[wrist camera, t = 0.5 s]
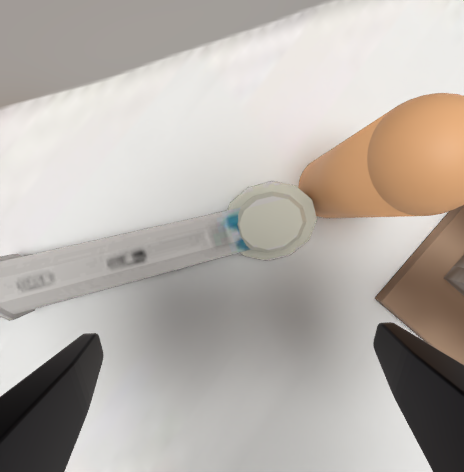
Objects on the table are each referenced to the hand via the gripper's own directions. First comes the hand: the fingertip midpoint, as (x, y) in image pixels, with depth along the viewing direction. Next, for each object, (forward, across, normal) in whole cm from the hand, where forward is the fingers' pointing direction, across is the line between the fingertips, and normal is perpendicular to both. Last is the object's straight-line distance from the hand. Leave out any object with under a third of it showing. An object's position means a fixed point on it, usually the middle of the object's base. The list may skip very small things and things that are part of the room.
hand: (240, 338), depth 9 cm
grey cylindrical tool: (+14, +6, +4) cm, 15 cm away
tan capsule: (+15, -8, -1) cm, 17 cm away
